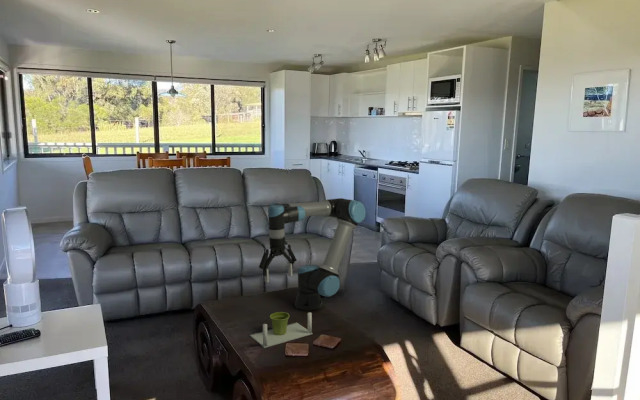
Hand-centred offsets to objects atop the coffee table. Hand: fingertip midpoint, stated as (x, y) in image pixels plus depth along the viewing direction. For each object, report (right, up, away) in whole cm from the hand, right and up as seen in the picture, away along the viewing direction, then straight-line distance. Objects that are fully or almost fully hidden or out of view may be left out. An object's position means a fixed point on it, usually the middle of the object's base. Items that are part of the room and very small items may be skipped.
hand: (278, 278), depth 225 cm
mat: (+2, -26, -5) cm, 27 cm away
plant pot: (+1, -26, -4) cm, 26 cm away
